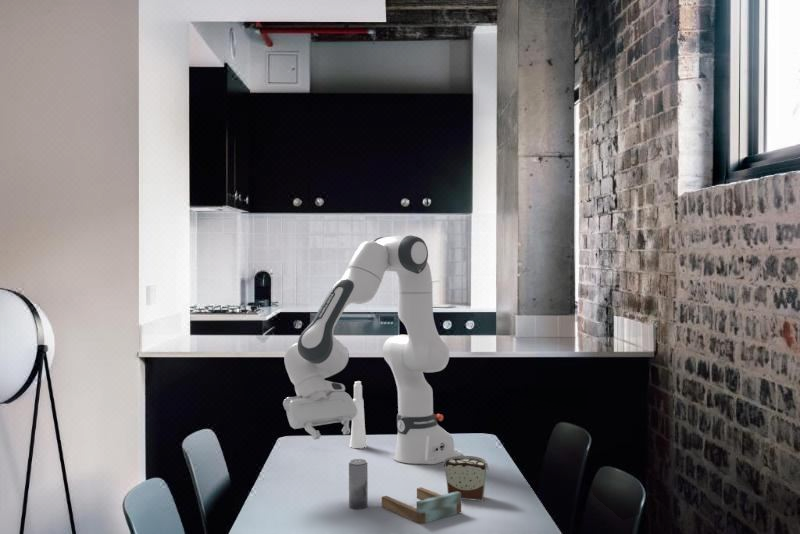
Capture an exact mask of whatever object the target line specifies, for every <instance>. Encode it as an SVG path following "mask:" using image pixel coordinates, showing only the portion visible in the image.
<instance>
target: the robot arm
mask: <svg viewBox="0 0 800 534" xmlns="http://www.w3.org/2000/svg"><path fill="white" fill-rule="evenodd" d="M428 258H429V249H428V247H427V244H426V242H425V240H424V239H423V238H421V237H419V236H416V235H412V234H411V235H401V234H400V235H390V236H384V237H383V236H381V237H378V238H374V239H373V240H366V241H363V242H362V243H360V245H359V246H358V248H357V249H356V250H355V252H354V254H353V255H352V257H351V259H350V260H349V262H348V264H347V267H346V269H345V272H344V273H343V275H342V277H341V279H339V280H337V282H336V283H334V284H333V286H332V288H331V289H330V290H329V292H328V294H327V295H326V297H325V299H324V300H323V302H322V304H321V305H320V308H319V309H318V310H317V312H316V315H315V316H314V317H313V319H312V321H311V322H310V323H309V324H308V325H307V327H306V328H304V330H303V331H302V332H301V334H300V335H299V337H298V340H297V343H294V344H292V345H291V346H290V347H288V348H287V350H286V351H285V353H284V357H283V358H284V360H283V361H284V366H285V370H286V372H287V374H288V377H289V379H290V382H291V383H292V385H294V391H295V393H296V396H288V397H285V399H284V400H283V401H282V405H283V408H284V410H285V411H286V416H287V420H288V423H289V426H290V427H291V428H292V429H294V430H296V429H303V428H304V430H305V432H307V433H308V434H309V435H310V436H311V437H312V439H313V440H319V439H320V438H321V436H322V435H321V433H320V430H316V429H315V428H314V427H317V426H322V425H323V426H324V425H330V424H334V423H335V424H336V423H337V424H338V423H341V424H342V425H343V427H342V429H341V432H342V434H343V435H349V434H351V428H350V421H352V420H353V419H354V417H355V416H356V414H357V408H356V406H355V404H354V402H353V398H352V397H351V395H350V394H349V393H347V392H346V391H345V390H346V386H345V385H344V384H343V383H341V382H340V383H339V382H333V381H330V380H325V379H328V378H330V377H332V376H335V375H337V374H338V373H340V372H342V371H343V370H344V369H345V368H346V367H347V365H348V362H349V359H350V354H349V353H350V352H349V350H348V348H347V347H346V346H345V345H344V344H343V343H342V342H341V341H340V340H338V339H337V338H336V337H335V336H334V335H335V334H334V330H335V327H336V326H337V324H338V322H339V320H340V318H341V316H342V314H343V313H344V311H345V309H346V308H347V307H348V306H349V305H351V304H355V305H364V304H366V303H370V302H371V301H372V299H374V297H375V295H376V294H377V293H378V290H379V288H380V285H381V284H382V281H383V278H384V276H385V273H386V272H396V274H397V276H398V283H397V316H398V318H399V320H400V322H402V324H403V325H404V327H405V329H406V333H407V334H398V335H397V334H395V335H392V336H389V337H388V338H387V339H386V340H385V341H384V344H383V346H382V356H383V358H384V361H385V362H386V363H387V365H388V366H389V367H390V369H391V372H392V374H393V377H394V381H395V384H396V391H397V407H398V408H397V411H398V413H397V415H396V427H397V436H396V437H397V438H396V444H395V445H396V446H395V450H394V454H393V457H392V459H393V460H395V461H396V462H399V463H405V464H416V465H417V464H419V465H421V464H424V465H425V464H426V465H436V464H440V463H444V461H445V459H446V458H449V457H454V456H463V454H462V451H461V450H459V449H457V448H455V442H454V438H453V435H451V433H449V432H447V431H446V430H445V429H444V428H443V427H442V426H440V425H439V424H438V421H439V422H442V421H443V420H444V415H443V414H440V413H437V414H435V413H434V397H433V396H434V395H433V394H434V393H433V388H432V386H431V385H430V384H429V383H428V381H427V379H426V378H425V375H424V373H436V372H441V371H443V370H444V369H445V368H446V367H447V365H448V363H449V360H450V350H449V348H448V346H447V344H446V343H445V342H444V341H443V340H442V338H441V336H440V334H439V332H438V330H437V327H436V323H435V319H434V306H433V305H434V304H433V278H432V273H431V268H430V264H429V262H428Z"/></svg>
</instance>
